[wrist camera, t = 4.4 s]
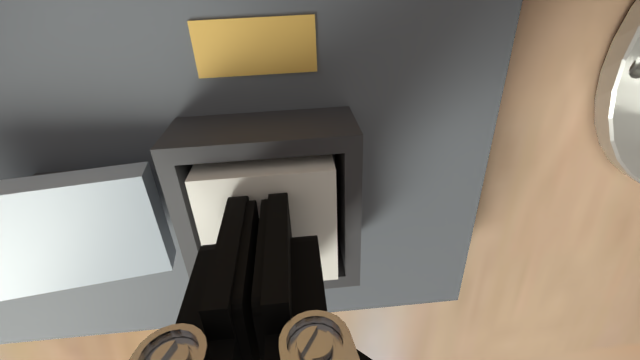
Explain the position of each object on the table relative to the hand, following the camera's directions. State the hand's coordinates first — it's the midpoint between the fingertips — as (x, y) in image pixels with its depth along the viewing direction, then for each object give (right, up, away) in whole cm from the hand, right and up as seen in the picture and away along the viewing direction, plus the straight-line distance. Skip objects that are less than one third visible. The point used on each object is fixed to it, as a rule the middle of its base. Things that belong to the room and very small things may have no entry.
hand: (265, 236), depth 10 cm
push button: (0, +1, +2) cm, 2 cm away
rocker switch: (-7, 0, 0) cm, 7 cm away
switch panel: (-5, +3, +5) cm, 8 cm away
